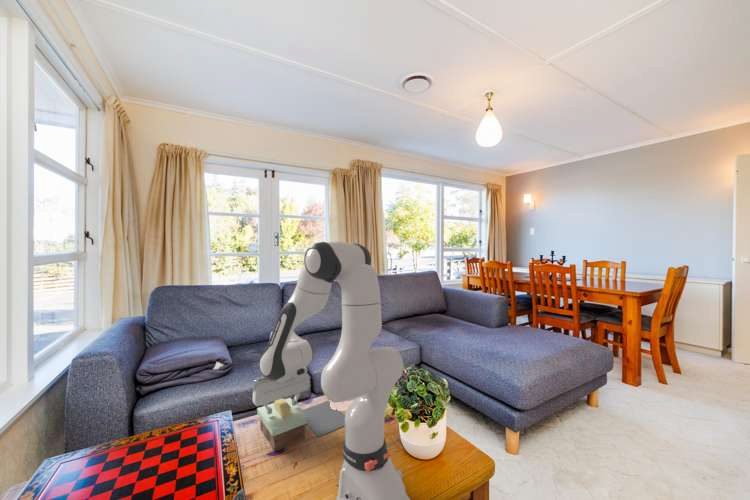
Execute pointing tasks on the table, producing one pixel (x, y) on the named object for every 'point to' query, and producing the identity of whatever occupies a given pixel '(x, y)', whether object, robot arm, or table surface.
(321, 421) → the mat
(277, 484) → the table surface
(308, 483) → the table surface
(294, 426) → the lid
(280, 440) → the box
